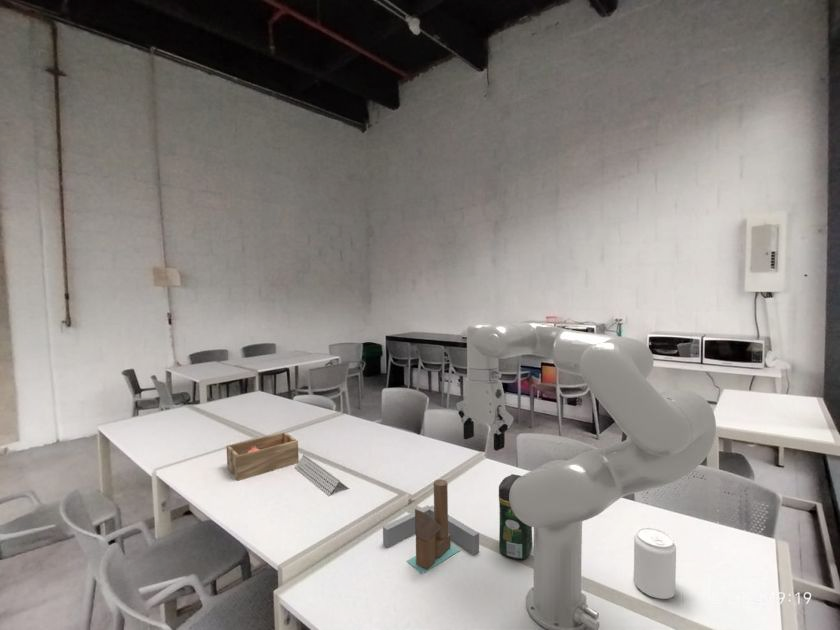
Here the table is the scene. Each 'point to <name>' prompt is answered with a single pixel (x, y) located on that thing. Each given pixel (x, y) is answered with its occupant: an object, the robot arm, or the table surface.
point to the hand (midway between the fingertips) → (483, 443)
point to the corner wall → (455, 528)
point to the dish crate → (262, 455)
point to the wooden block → (433, 528)
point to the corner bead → (317, 468)
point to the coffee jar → (512, 525)
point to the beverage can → (654, 562)
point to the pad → (446, 555)
